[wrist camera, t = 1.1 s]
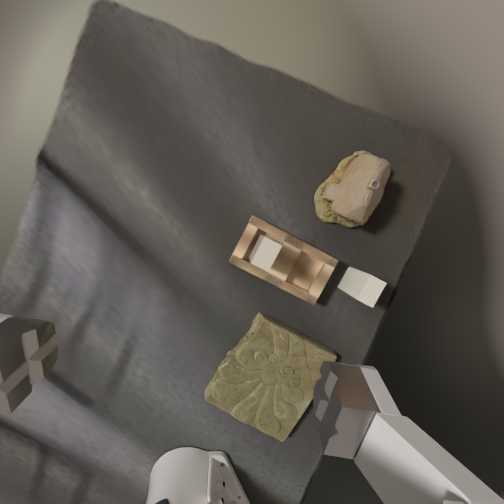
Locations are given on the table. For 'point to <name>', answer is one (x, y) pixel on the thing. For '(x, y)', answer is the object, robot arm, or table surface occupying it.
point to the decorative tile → (269, 376)
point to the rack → (286, 261)
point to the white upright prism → (264, 253)
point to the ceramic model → (352, 190)
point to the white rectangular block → (362, 286)
